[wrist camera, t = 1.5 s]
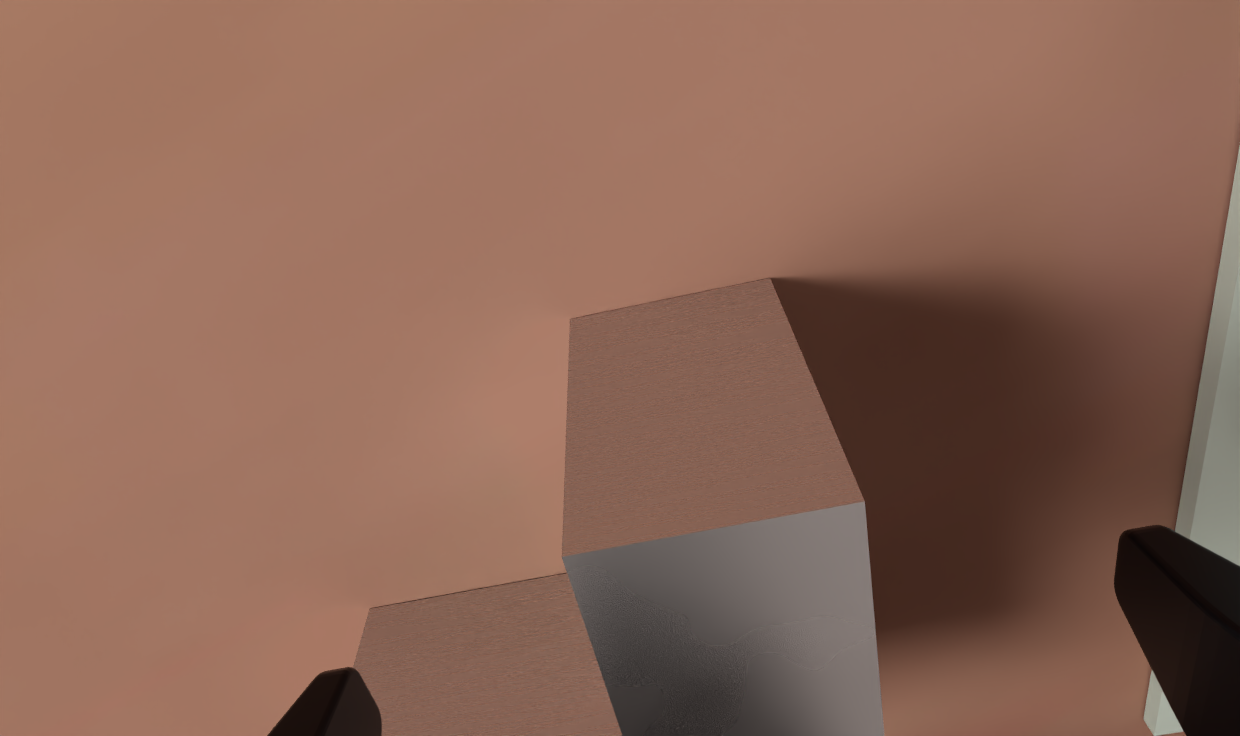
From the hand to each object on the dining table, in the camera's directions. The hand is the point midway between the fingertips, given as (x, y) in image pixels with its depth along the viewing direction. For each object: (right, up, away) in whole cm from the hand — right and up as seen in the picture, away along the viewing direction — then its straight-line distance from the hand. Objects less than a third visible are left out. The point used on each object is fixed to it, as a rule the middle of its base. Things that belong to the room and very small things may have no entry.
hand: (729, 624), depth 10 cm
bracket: (-2, 0, +5) cm, 5 cm away
